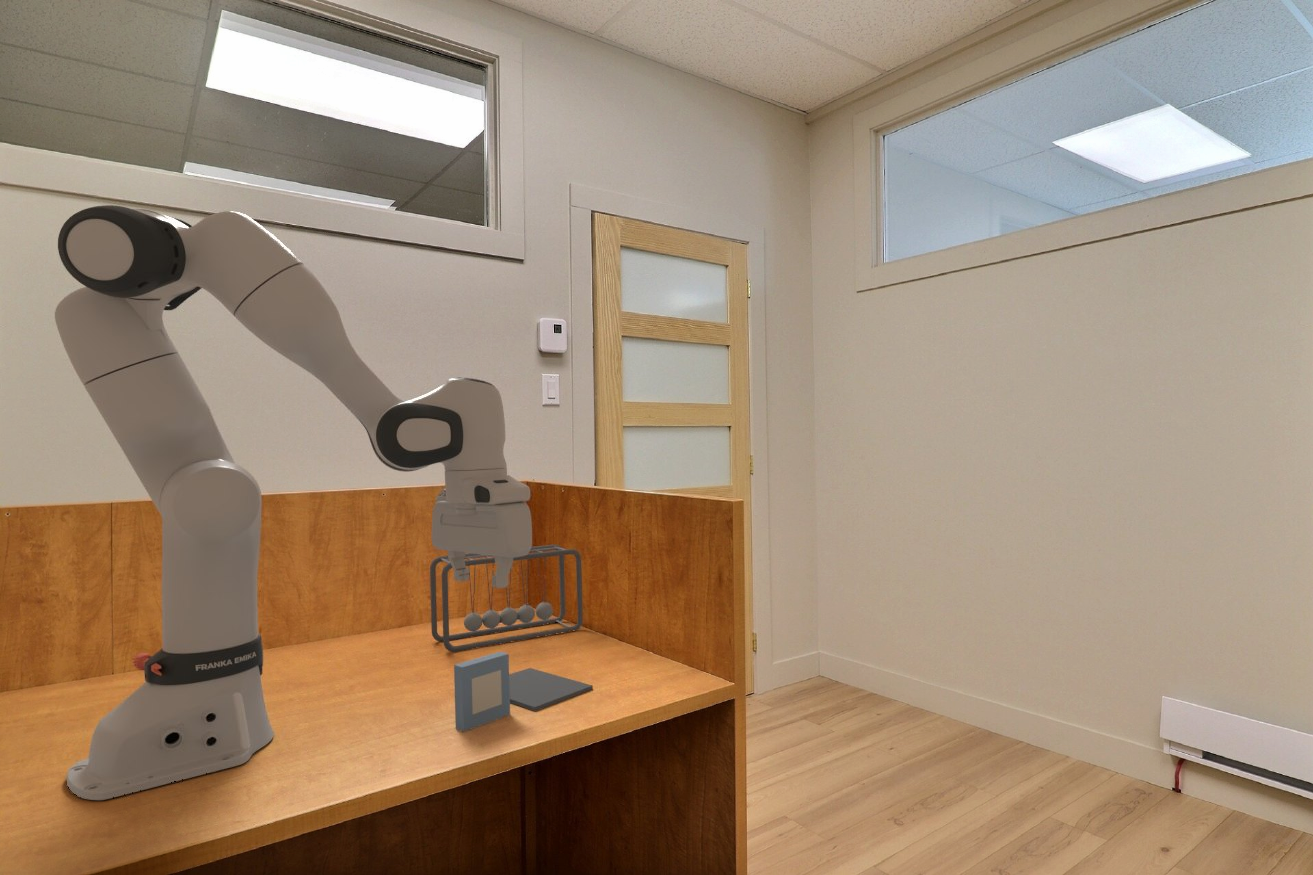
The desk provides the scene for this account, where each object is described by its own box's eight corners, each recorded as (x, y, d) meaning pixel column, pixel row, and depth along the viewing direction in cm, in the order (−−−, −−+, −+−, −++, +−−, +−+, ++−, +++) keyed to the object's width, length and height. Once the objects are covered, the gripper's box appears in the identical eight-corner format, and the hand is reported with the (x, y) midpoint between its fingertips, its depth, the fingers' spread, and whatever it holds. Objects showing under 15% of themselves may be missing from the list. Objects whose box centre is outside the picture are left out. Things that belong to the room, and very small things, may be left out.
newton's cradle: (564, 621, 163) (562, 543, 164) (584, 630, 154) (581, 548, 155) (431, 642, 148) (429, 557, 148) (444, 654, 139) (442, 563, 139)
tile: (510, 714, 106) (508, 653, 106) (464, 732, 100) (462, 667, 100) (501, 711, 107) (500, 651, 107) (455, 728, 101) (454, 664, 101)
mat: (534, 711, 107) (534, 707, 107) (472, 689, 117) (472, 686, 117) (592, 689, 116) (592, 685, 116) (530, 671, 126) (529, 667, 126)
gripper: (419, 490, 108) (422, 580, 108) (501, 491, 95) (505, 595, 95) (455, 486, 113) (458, 573, 113) (538, 488, 100) (542, 587, 100)
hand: (480, 584), depth 104 cm, fingers open, 8 cm apart
